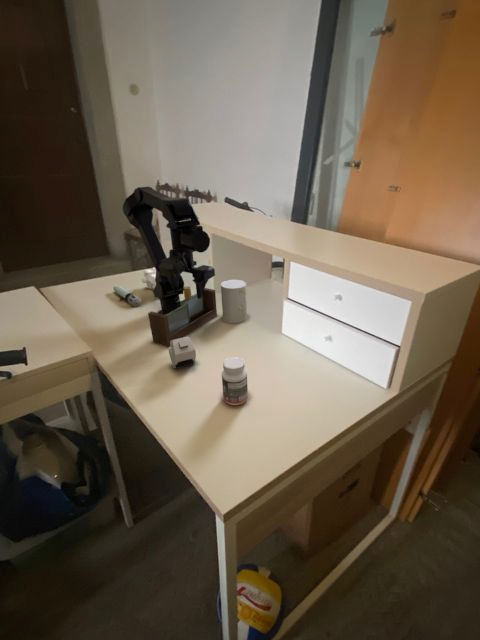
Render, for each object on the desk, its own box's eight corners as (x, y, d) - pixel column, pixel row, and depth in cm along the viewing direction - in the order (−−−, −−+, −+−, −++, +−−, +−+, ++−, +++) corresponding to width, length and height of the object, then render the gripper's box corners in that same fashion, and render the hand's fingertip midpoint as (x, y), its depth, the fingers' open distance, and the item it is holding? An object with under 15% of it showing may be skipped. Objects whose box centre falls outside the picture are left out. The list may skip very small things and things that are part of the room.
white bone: (178, 295, 136) (175, 274, 132) (156, 300, 132) (153, 279, 128) (162, 284, 147) (159, 265, 142) (142, 288, 142) (138, 269, 138)
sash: (181, 321, 113) (177, 290, 107) (200, 310, 120) (197, 280, 115) (186, 322, 112) (182, 291, 106) (205, 311, 119) (202, 281, 114)
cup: (243, 324, 115) (242, 289, 109) (219, 321, 116) (217, 287, 110) (249, 313, 122) (248, 280, 116) (226, 311, 123) (225, 278, 117)
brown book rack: (153, 342, 105) (147, 313, 100) (203, 312, 123) (200, 286, 118) (168, 347, 102) (163, 317, 97) (217, 316, 120) (215, 289, 115)
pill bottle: (223, 391, 84) (221, 356, 79) (247, 390, 85) (246, 354, 79) (223, 406, 79) (220, 370, 74) (248, 405, 80) (247, 369, 75)
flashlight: (107, 289, 137) (128, 304, 124) (116, 282, 138) (137, 296, 125) (113, 295, 139) (134, 311, 126) (121, 288, 140) (143, 302, 127)
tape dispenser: (173, 372, 94) (176, 359, 86) (166, 349, 96) (168, 335, 87) (194, 366, 97) (199, 353, 88) (187, 344, 98) (191, 330, 90)
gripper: (138, 247, 101) (147, 298, 109) (189, 257, 93) (194, 311, 101) (165, 239, 109) (172, 287, 117) (214, 247, 101) (217, 298, 109)
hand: (187, 295), depth 111 cm, fingers open, 9 cm apart
